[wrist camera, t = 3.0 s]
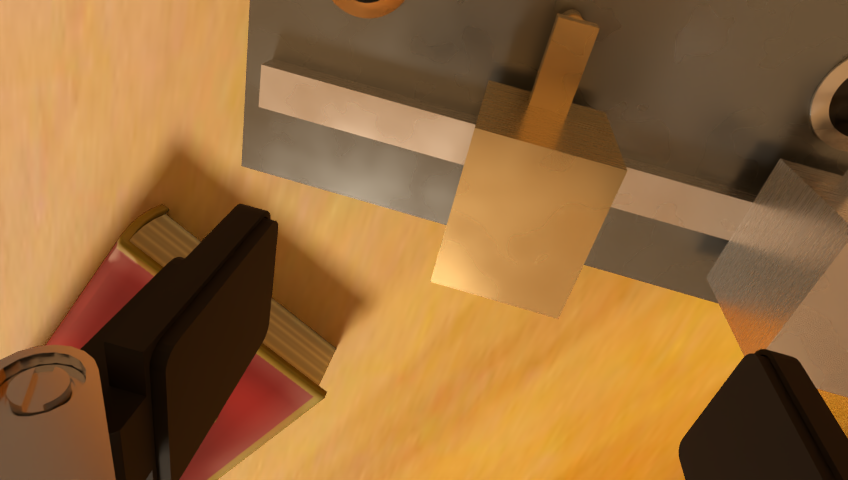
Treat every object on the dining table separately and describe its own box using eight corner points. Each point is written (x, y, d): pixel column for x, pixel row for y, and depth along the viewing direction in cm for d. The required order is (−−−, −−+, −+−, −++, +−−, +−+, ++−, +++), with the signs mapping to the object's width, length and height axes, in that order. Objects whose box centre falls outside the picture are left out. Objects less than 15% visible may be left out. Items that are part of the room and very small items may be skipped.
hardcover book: (28, 388, 37) (-27, 438, 33) (164, 197, 27) (107, 239, 23) (175, 485, 40) (139, 541, 36) (348, 344, 30) (322, 402, 26)
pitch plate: (1056, -56, 16) (1401, -42, 10) (786, 305, 23) (881, 448, 17) (283, -256, 17) (131, -366, 10) (257, 153, 24) (157, 235, 18)
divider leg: (636, 26, 17) (676, 66, 12) (552, 228, 21) (558, 318, 16) (513, -7, 17) (505, 20, 12) (454, 200, 21) (430, 281, 16)
